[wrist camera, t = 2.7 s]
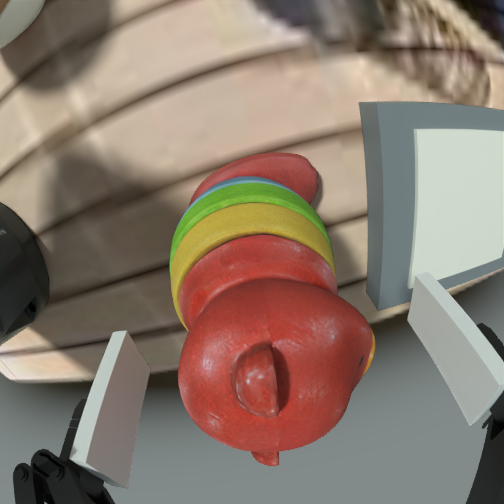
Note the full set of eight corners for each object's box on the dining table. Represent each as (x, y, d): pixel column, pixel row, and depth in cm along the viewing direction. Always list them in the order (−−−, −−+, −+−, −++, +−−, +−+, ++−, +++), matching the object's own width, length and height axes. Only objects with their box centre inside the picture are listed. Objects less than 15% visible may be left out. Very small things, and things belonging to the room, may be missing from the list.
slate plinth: (366, 292, 27) (379, 313, 24) (358, 102, 19) (379, 103, 16) (494, 253, 27) (510, 266, 24) (507, 110, 18) (529, 116, 15)
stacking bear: (304, 275, 26) (373, 466, 10) (190, 277, 25) (161, 483, 9) (318, 154, 21) (501, 290, 5) (183, 151, 20) (49, 307, 4)
